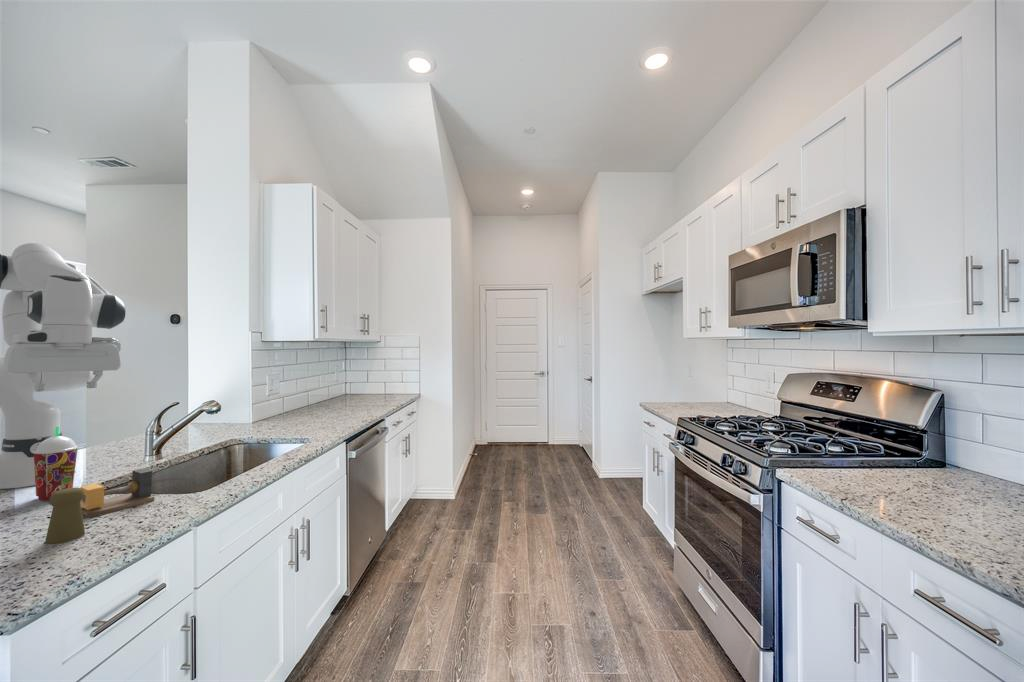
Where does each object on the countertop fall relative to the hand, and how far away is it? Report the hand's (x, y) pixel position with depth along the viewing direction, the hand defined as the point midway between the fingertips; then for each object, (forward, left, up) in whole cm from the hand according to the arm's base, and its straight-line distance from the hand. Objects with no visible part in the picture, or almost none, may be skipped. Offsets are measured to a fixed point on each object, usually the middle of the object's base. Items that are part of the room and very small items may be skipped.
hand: (66, 389), depth 102 cm
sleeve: (+6, +4, -30) cm, 31 cm away
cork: (+20, -4, -32) cm, 38 cm away
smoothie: (-16, +3, -32) cm, 36 cm away
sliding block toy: (+6, +9, -32) cm, 34 cm away
